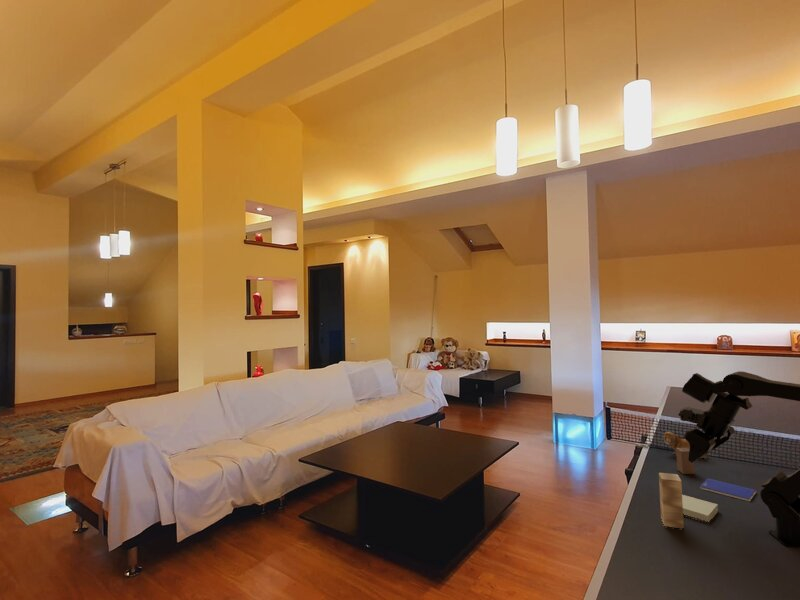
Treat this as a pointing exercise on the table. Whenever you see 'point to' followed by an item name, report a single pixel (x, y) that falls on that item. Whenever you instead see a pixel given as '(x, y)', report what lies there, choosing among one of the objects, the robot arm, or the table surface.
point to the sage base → (699, 508)
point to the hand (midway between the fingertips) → (697, 457)
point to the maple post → (671, 500)
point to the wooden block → (684, 461)
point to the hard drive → (728, 489)
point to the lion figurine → (676, 442)
